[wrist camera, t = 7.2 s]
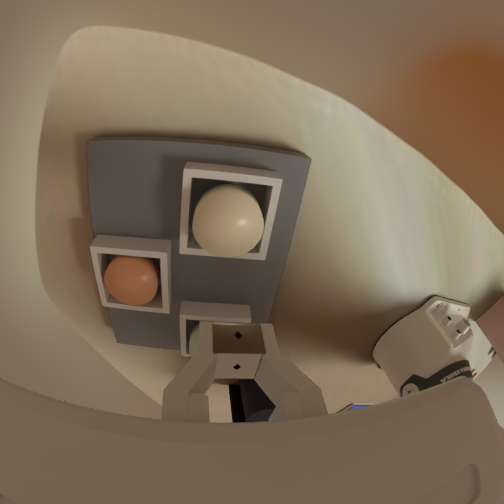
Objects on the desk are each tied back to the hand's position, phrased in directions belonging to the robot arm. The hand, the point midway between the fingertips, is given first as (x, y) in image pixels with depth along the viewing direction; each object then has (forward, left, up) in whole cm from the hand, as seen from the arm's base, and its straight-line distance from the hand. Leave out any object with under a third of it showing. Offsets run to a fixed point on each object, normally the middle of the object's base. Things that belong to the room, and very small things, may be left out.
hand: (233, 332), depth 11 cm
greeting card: (-61, +15, -15) cm, 65 cm away
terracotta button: (+8, +7, -13) cm, 16 cm away
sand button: (0, 0, -11) cm, 11 cm away
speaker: (-7, +28, -15) cm, 33 cm away
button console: (+3, +7, -15) cm, 17 cm away
